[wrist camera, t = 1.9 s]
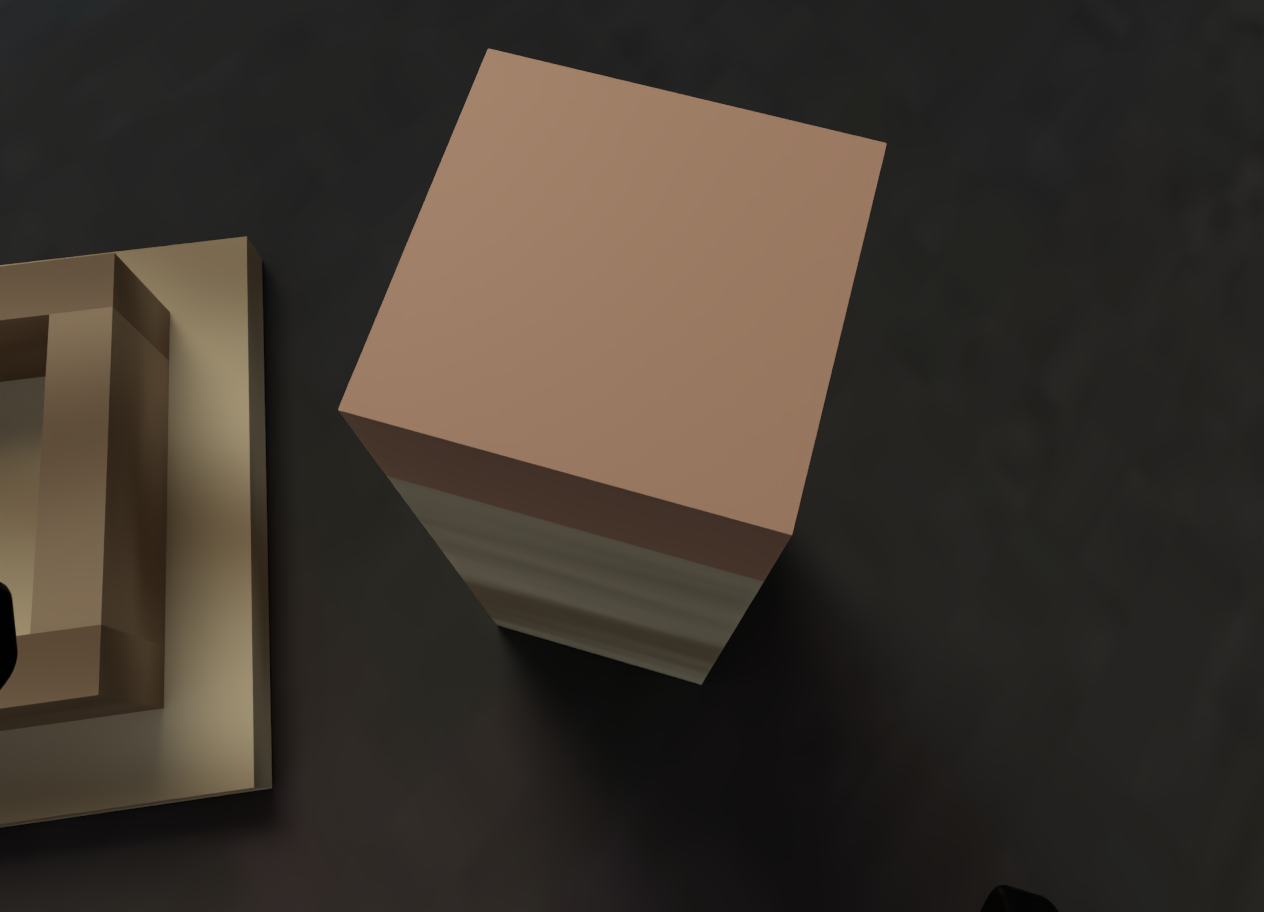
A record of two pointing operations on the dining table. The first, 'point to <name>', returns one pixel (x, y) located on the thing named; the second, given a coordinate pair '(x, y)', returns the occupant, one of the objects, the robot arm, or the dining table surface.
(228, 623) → the socket stand
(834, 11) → the dining table surface
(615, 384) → the birch post
